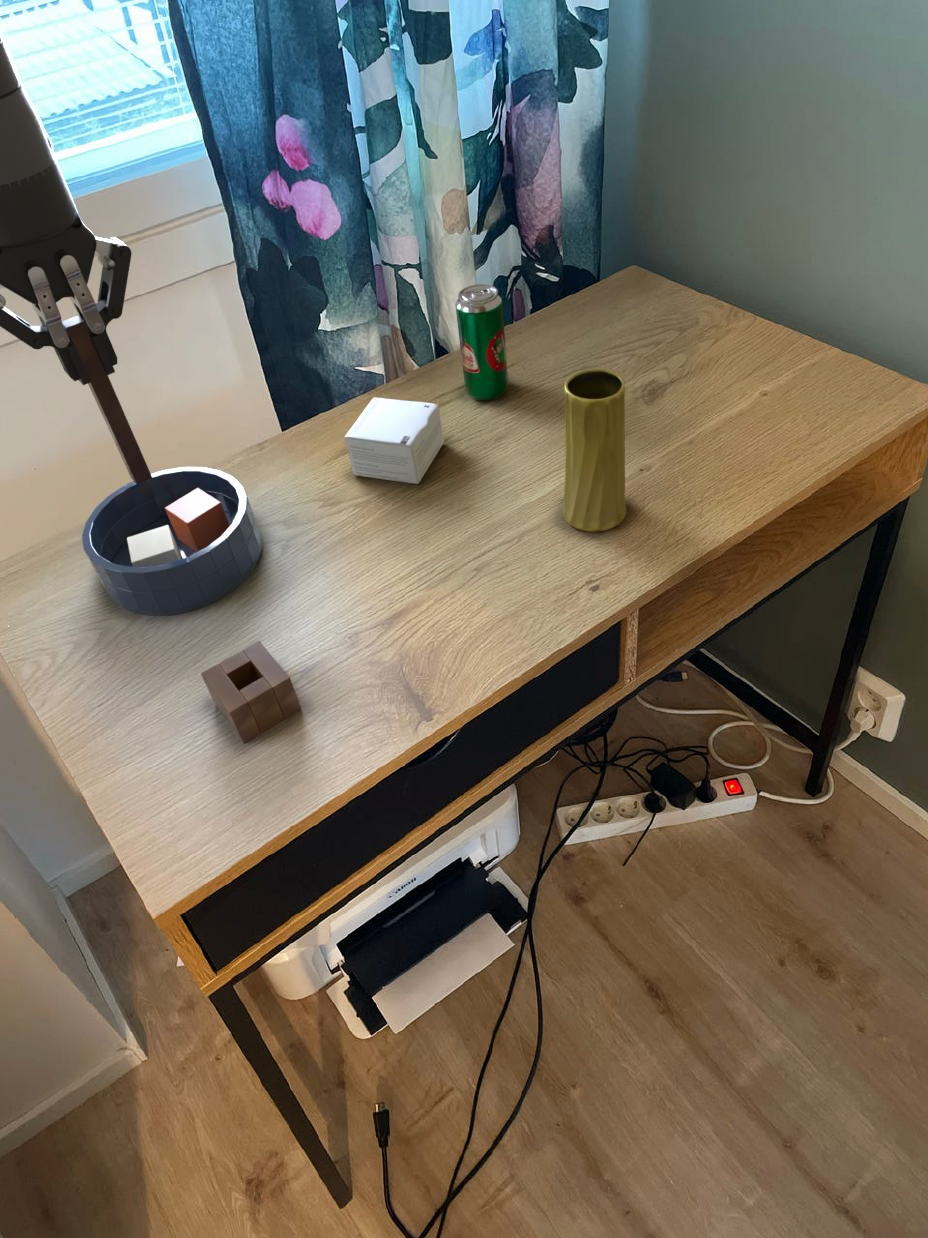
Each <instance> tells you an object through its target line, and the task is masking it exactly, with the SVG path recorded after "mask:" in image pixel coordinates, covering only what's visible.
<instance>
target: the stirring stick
mask: <svg viewBox="0 0 928 1238" xmlns="http://www.w3.org/2000/svg"><path fill="white" fill-rule="evenodd" d="M62 323H63V325H64V328H65V330H66V333H67V335H68V338H69V340H70V341H71V342H72V343H74V345H75V347H76V349H77V351H78V353H79V356H80V358H81V360H82V362H83V364H84V367H85V369H86V371H87V373H88V376H89V378H90V380H91V382H90V383H88V384H87V385H88V387H89V389H90V392H91V394H92V396H93V398H94V400H95V403H96V404H97V407H98V409H99V411H100V413H101V415H102V417H103V419H104V422H105V425H106V426H107V428H108V431H109V433H110V435H111V437H112V440H113V442H114V444H115V446H116V449H117V450H118V453H119V455H120V457H121V459H122V461H123V463H124V466H125V468H126V470H127V473H128V475H129V477H130V479H132V481H134V482H135V483H136V484H137V485H138V484H140V483H142V482H144V481H146V480H149V479H151V478H152V475H151V474H152V473H151V471H150V469H149V466H148V464H147V462H146V459H145V457H144V454H143V453H142V451H141V448H140V446H139V444H138V441H137V439H136V437H135V434H134V432H133V430H132V427H131V425H130V423H129V421H128V419H127V416H126V414H125V412H124V409H123V406H122V404H121V402H120V400H119V398H118V395H117V393H116V390H115V388H114V386H113V383H112V381H111V380H110V376H109V375H107V373H106V371H105V369H104V366H103V364H102V362H101V360H100V357H99V355H98V353H97V350H96V348H95V346H94V344H93V341H92V339H91V337H90V333H89V331H88V329H87V326H86V324H85V322H84V321H83V320H82V319H81V318H80V317H79V315H75V316H73V317H70V318H66V319H65V320H62Z"/></svg>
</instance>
